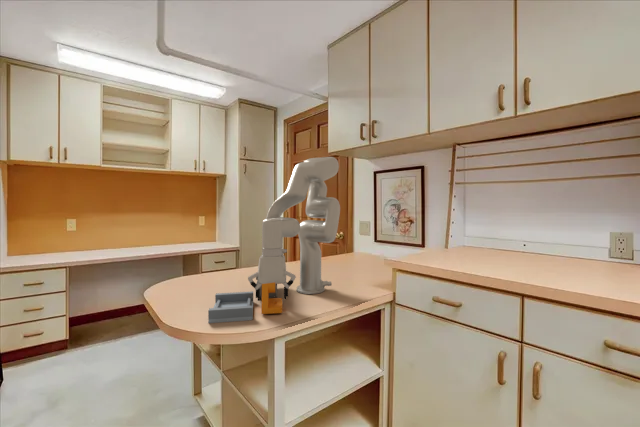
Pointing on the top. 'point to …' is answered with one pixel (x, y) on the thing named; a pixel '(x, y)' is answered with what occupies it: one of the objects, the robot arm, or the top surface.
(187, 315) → the top surface
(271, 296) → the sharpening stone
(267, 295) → the bracket
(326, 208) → the robot arm
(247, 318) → the grey tray
